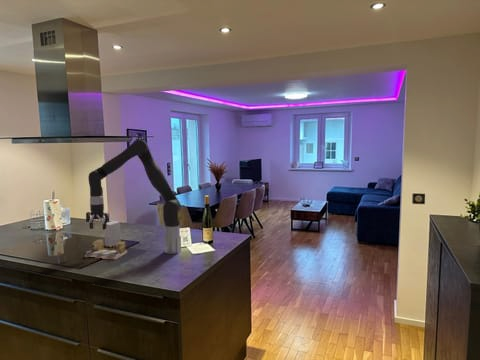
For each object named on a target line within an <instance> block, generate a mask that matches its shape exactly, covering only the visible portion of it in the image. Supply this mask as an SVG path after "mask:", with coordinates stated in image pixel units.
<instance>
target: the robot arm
mask: <svg viewBox="0 0 480 360" xmlns="http://www.w3.org/2000/svg"><path fill="white" fill-rule="evenodd" d="M135 157H138V158H139V160H140V161H141V164H142V165H143V167H144V172H145V174H146V177H147V179H148V180H149V182H150V183H151V185H152V187H153V188H154V189H155V190H156V191H157V192H158V193H159V194H160V195H161V197H162V198H163V200H164V202H165V203H164V204H163V207H162V215H163V217H162V219H163V223H164V253H165V254H168V255H175V254H179V253H180V252H181V250H182V236H181V233H180V231H181V230H180V227H181V226H180V219H179V214H178V213H179V212H180V211H181V208H182V204H181V202H180V201H179V199H178V197H177V196H176V194H175V193H174V192H173V190H172V188H171V186H170V184H169V183H168V181H167V179H166V177H165V175H164V172H163V171H162V169H161V168H160V166H159V165H158V163H157V162H156V161H155V159H154V157H153V155H152V153H151V150H150V148H149V145H148V143H147V142H146V141H144V140H143V139H136V140H135V141H133V142H132V143H130V145H129V146H128V147H127V148H125V149H124V150H123V151H121V153H119V154H117V155H115V156H114V157H112V158H111V159H108V161H106V162H105V163H103V164H102V165H101V166H100V167H98V168H96V169H95V170H93V171H91V172H89V173H88V185H89V195H90V196H89V207H90V211H87V212H86V213H85V222H86V223H88V224H89V226H88V227H89V228H90V230H92V229H94V221H96V220H97V221H100V222H102V230H103V231H104V230H105V229H106V228H107V227H106V223H108V222H110V213H109V212H108V211H107V212H104V210H105V206H104V205H105V204H104V200H105V199H104V190H103V187H102V180H103V179H105V178H106V177H108V175H110V174H113V173H114V172H115V171H118V169H120V168H121V167H122V166H123V165H125V164H126V163H127V162H128V161H129V160H131V159H133V158H135Z"/></svg>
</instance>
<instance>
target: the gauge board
mask: <svg viewBox="0 0 480 360" xmlns="http://www.w3.org/2000/svg"><path fill="white" fill-rule="evenodd" d="M127 253H128V249H126V241H121V242H119V243H117V244H116V246H114V248H110V247H109V248H107V247H106V248H105V247H103V250H101V251H94V249H93V250H89V251H88V250H87V251H86V252H85V254H84V258H88V257H95V258H94V259H100V258H102V260H103V259H104V260H117V259H119V258H121V257H122V256H124V255H126V254H127Z"/></svg>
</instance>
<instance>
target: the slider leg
mask: <svg viewBox="0 0 480 360" xmlns="http://www.w3.org/2000/svg"><path fill="white" fill-rule="evenodd" d="M91 247H92V248H93V250H94V251H101V250H103V248H104V239H97V240H95V241H93V243H92V246H91Z"/></svg>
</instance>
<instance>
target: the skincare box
mask: <svg viewBox="0 0 480 360" xmlns="http://www.w3.org/2000/svg"><path fill="white" fill-rule="evenodd" d="M106 227H107V228H106V229H105V230H103V231H104V234H103V235H104V246H105V247H108V246H109V248H113V247H115V245H116V244H117V243H119V242H122V241H121V222H120V221H117V220H112V221H109V222H107V223H106ZM112 246H113V247H112Z"/></svg>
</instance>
